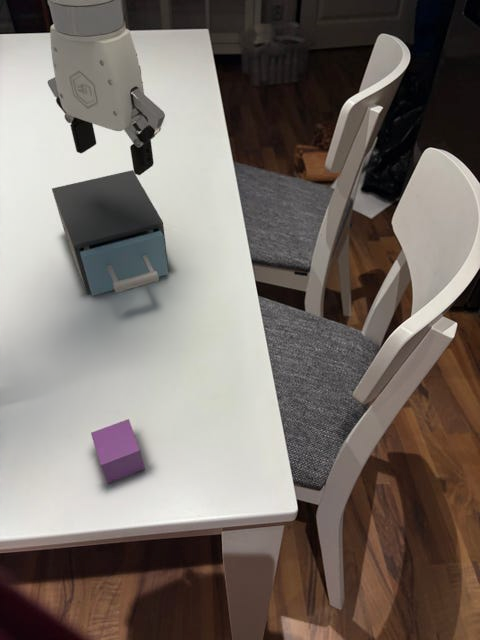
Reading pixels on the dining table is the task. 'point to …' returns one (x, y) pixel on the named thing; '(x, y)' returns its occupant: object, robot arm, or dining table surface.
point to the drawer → (125, 262)
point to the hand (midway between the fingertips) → (114, 159)
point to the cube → (117, 451)
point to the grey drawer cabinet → (104, 212)
